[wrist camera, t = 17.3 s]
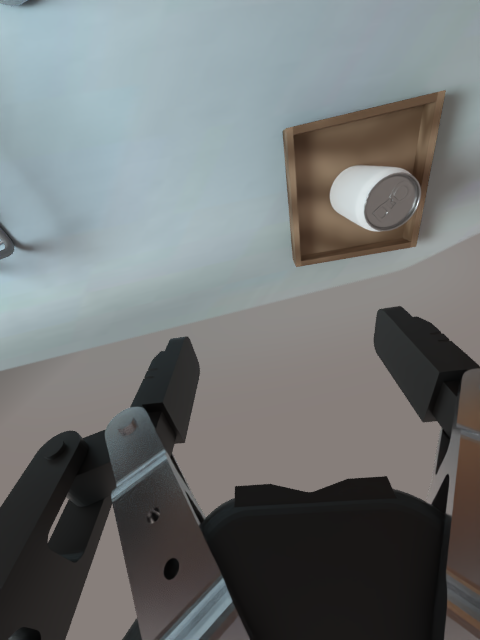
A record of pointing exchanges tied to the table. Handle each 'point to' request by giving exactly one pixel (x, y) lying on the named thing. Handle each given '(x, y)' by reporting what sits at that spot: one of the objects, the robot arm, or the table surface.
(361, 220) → the can
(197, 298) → the table surface
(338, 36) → the table surface
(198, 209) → the table surface
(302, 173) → the tray
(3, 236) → the newton's cradle
